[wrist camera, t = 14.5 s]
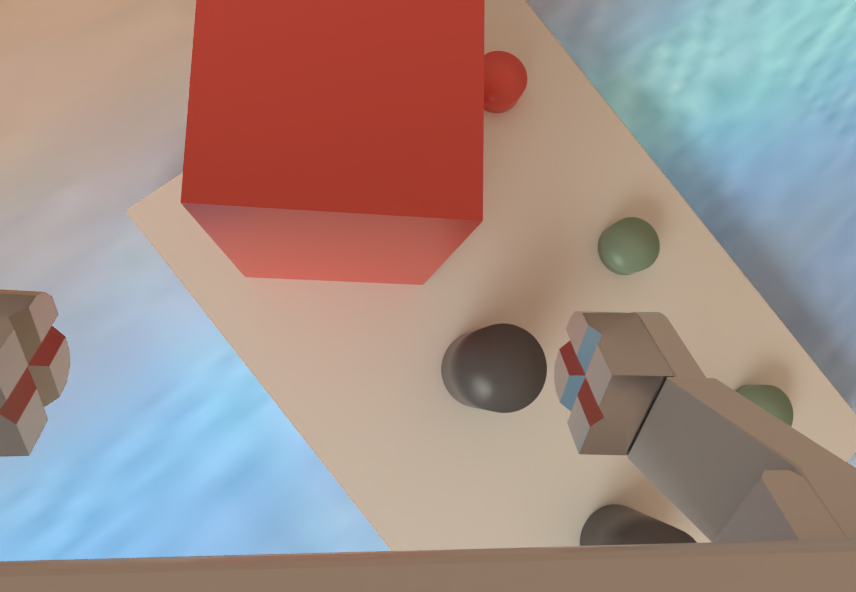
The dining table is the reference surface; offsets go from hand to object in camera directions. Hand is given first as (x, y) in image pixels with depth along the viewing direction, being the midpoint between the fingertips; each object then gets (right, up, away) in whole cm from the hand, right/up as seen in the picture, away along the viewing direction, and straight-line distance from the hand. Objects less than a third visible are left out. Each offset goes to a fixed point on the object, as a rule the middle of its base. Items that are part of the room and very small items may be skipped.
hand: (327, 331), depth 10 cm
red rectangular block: (-1, +4, +9) cm, 10 cm away
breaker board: (+5, -1, +11) cm, 12 cm away
